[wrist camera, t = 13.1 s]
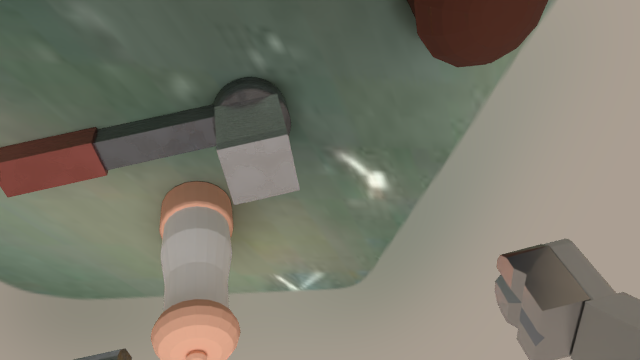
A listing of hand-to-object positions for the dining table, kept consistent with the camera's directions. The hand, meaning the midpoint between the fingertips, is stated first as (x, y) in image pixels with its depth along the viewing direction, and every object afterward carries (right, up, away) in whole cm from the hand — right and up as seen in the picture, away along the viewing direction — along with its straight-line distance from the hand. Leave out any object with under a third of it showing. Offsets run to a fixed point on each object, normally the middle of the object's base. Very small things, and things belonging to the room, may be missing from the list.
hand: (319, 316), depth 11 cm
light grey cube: (-6, +8, +36) cm, 37 cm away
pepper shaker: (-13, 0, +44) cm, 46 cm away
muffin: (+11, +21, +34) cm, 42 cm away
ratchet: (-16, +7, +38) cm, 42 cm away
